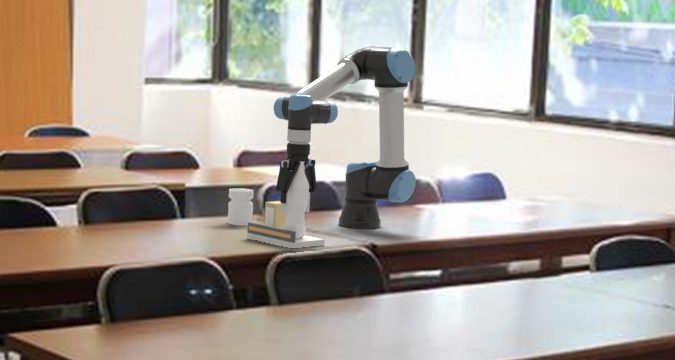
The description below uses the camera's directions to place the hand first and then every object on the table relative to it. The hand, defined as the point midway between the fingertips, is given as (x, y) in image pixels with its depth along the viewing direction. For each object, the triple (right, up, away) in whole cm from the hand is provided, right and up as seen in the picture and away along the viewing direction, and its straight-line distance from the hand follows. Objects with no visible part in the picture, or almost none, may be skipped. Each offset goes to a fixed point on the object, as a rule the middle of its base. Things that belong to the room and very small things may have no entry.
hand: (295, 212), depth 416 cm
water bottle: (0, -8, +1) cm, 8 cm away
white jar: (-21, -5, +38) cm, 44 cm away
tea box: (-7, -7, +10) cm, 14 cm away
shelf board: (-3, -10, +4) cm, 11 cm away
